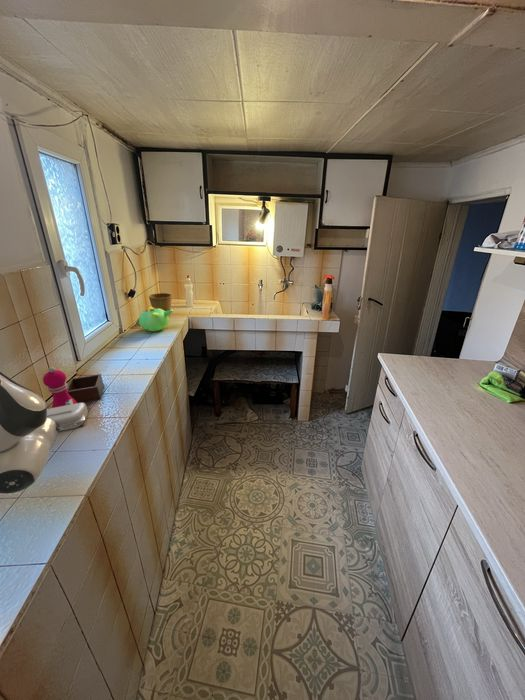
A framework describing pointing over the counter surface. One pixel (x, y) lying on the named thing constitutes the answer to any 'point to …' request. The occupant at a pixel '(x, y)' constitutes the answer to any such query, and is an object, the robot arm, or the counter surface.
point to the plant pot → (161, 301)
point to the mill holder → (86, 388)
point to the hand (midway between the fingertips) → (51, 404)
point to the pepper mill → (57, 387)
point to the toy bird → (154, 319)
